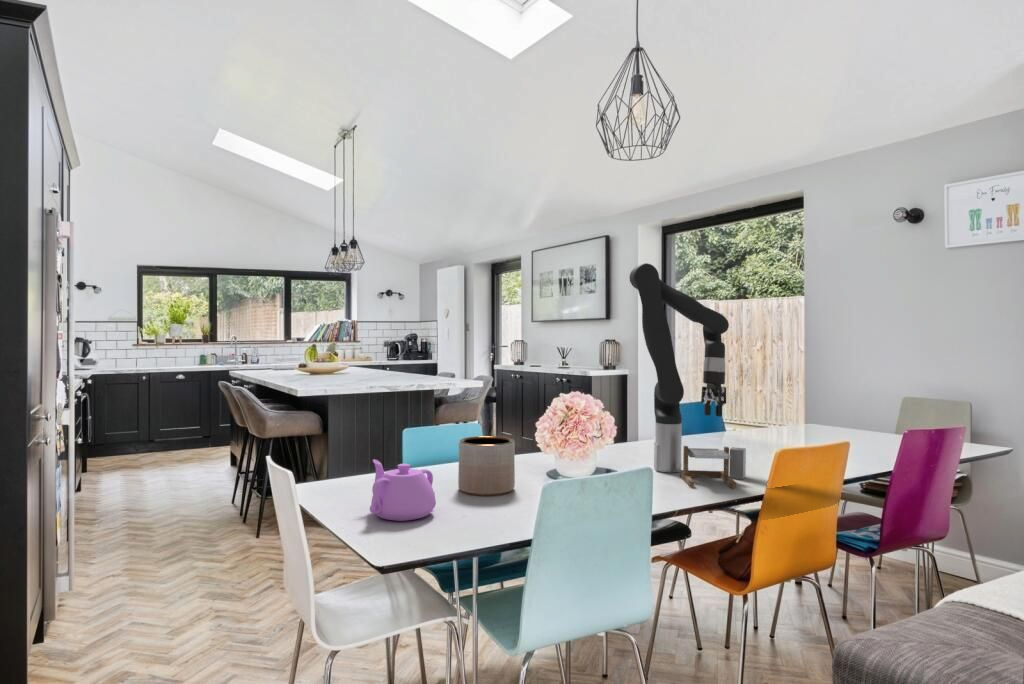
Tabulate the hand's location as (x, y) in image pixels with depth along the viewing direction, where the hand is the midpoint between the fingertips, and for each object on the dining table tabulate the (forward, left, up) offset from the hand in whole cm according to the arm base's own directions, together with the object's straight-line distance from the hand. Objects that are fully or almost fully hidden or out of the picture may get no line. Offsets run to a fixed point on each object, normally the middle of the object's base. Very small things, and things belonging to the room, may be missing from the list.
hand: (712, 415), depth 237 cm
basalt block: (+6, -9, -20) cm, 23 cm away
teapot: (-98, -64, -20) cm, 119 cm away
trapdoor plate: (-6, -18, -13) cm, 22 cm away
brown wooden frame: (-6, -17, -20) cm, 27 cm away
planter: (-78, -35, -20) cm, 87 cm away
